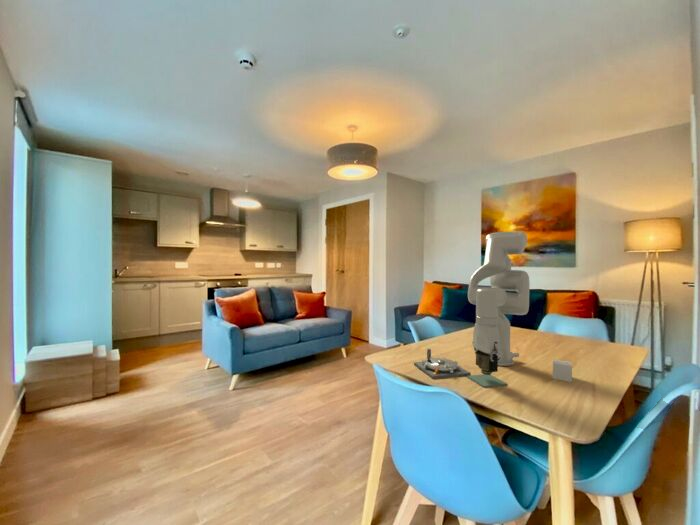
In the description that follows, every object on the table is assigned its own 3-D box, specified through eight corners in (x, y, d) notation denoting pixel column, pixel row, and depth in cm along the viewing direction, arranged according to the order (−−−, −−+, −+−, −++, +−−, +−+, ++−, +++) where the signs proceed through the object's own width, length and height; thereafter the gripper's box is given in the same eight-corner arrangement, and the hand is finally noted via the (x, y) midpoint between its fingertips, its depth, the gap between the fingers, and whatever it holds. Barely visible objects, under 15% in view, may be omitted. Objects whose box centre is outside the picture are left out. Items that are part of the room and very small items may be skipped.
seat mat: (488, 375, 121) (488, 373, 121) (507, 385, 111) (507, 383, 111) (466, 377, 118) (466, 375, 118) (483, 387, 109) (483, 385, 109)
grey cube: (552, 378, 118) (552, 363, 118) (553, 374, 123) (553, 359, 123) (572, 382, 114) (571, 366, 114) (571, 377, 119) (571, 362, 119)
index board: (447, 361, 137) (447, 359, 137) (470, 375, 121) (470, 371, 121) (413, 364, 133) (413, 361, 133) (432, 378, 117) (432, 375, 117)
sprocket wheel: (427, 358, 137) (427, 344, 137) (463, 364, 130) (463, 349, 130) (417, 368, 124) (417, 353, 124) (456, 375, 116) (456, 359, 116)
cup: (499, 378, 110) (499, 356, 110) (478, 376, 112) (478, 354, 112) (494, 371, 117) (494, 350, 118) (474, 369, 119) (474, 349, 119)
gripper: (464, 317, 122) (464, 361, 122) (493, 326, 105) (493, 377, 105) (480, 317, 124) (480, 360, 124) (512, 325, 107) (512, 375, 107)
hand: (486, 367), depth 115 cm, fingers closed on cup, 6 cm apart
